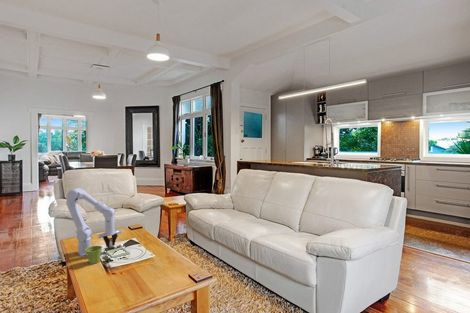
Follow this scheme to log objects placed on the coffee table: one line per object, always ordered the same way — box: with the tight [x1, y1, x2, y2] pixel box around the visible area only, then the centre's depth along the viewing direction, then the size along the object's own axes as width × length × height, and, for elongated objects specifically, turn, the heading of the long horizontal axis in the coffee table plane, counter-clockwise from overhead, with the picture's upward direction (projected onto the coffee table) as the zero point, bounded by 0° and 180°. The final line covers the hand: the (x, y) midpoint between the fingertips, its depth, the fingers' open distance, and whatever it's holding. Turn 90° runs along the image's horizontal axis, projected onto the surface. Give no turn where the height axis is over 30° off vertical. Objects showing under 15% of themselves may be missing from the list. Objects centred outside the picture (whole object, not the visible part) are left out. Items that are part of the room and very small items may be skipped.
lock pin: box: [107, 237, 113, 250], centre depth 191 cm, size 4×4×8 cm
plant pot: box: [85, 245, 103, 265], centre depth 175 cm, size 9×9×9 cm
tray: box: [106, 247, 131, 258], centre depth 184 cm, size 11×11×3 cm
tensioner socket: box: [103, 245, 117, 252], centre depth 191 cm, size 6×6×2 cm
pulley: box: [115, 244, 127, 248], centre depth 196 cm, size 6×6×3 cm
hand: (110, 246), depth 191 cm, fingers closed on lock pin, 3 cm apart
